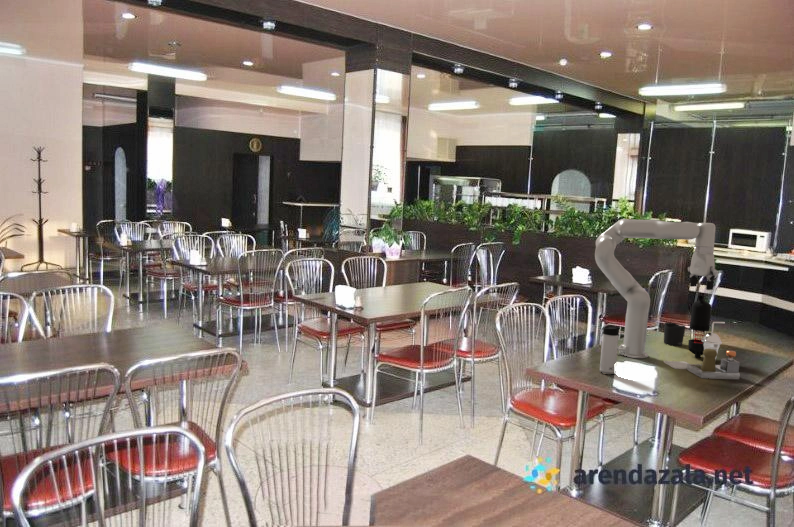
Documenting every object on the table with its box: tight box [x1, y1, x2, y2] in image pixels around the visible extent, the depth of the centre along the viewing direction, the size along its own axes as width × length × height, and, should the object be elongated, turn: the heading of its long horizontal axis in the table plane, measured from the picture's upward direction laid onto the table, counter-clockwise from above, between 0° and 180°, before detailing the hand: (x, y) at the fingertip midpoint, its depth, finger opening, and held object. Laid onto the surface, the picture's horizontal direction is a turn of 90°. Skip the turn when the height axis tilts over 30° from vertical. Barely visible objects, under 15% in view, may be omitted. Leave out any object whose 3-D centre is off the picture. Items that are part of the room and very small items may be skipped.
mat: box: [663, 360, 690, 370], centre depth 268 cm, size 10×10×1 cm
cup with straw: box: [700, 321, 726, 362], centre depth 273 cm, size 8×9×20 cm
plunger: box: [725, 349, 737, 361], centre depth 253 cm, size 4×4×6 cm
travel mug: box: [599, 325, 621, 375], centre depth 251 cm, size 6×7×20 cm
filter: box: [688, 295, 712, 359], centre depth 283 cm, size 14×9×30 cm
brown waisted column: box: [701, 349, 718, 372], centre depth 256 cm, size 6×6×11 cm
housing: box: [686, 358, 741, 380], centre depth 256 cm, size 16×12×7 cm
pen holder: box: [663, 322, 686, 347], centre depth 308 cm, size 9×9×10 cm
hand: (701, 288), depth 273 cm, fingers open, 9 cm apart
